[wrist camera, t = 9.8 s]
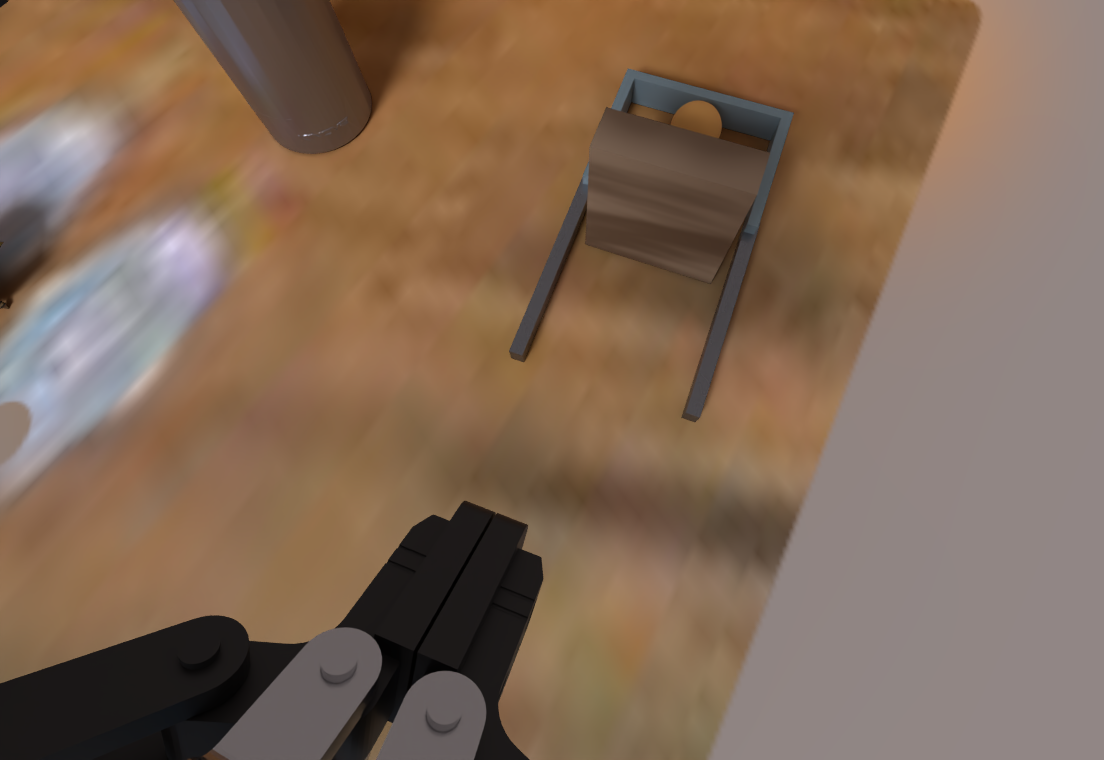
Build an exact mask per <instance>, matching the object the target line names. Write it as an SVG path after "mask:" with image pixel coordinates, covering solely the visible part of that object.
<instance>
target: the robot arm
mask: <svg viewBox="0 0 1104 760" xmlns="http://www.w3.org/2000/svg"><path fill="white" fill-rule="evenodd" d="M174 2H175V3H176V5H177V6H178V7H179V9H180V10H181V11H182V13H183V14H184V16H185V17H186V18H187V20H188V21H189V22H190V24H191V25H192V27H193V28H194V29H195V31H196V32H197V33H198V35H199V36H200V37H201V39H202V40H203V42H204V43H205V44H206V46H207V47H208V48H209V50H210V51H211V53H212V54H213V55H214V57H215V58H216V59H217V61H218V62H219V64H220V65H221V66H222V68H223V69H224V70H225V72H226V73H227V75H228V76H229V77H230V79H231V80H232V81H233V83H234V84H235V86H236V87H237V88H238V90H239V91H240V92H241V94H242V95H243V97H244V98H245V99H246V101H247V102H248V104H249V105H250V106H251V108H252V109H253V110H254V112H255V113H256V115H257V116H258V117H259V119H260V120H261V121H262V123H263V124H264V125H265V127H266V128H267V129H268V131H269V132H270V134H271V135H272V136H273V138H274V139H275V140H276V141H277V142H278V143H279V144H281V145H282V146H283V147H285V148H287V149H289V150H292V151H295V152H299V153H307V154H316V153H324V152H328V151H331V150H334V149H337V148H339V147H341V146H343V145H345V144H347V143H348V142H349V141H351V140H352V139H353V138H355V137H356V136H357V135H358V134H359V133H360V132H361V131H362V129H363V128H364V126H365V125H366V123H367V121H368V119H369V116H370V113H371V107H372V100H371V94H370V92H369V89H368V87H367V85H366V82H365V80H364V78H363V76H362V73H361V71H360V69H359V66H358V64H357V62H356V60H355V57H354V55H353V52H352V50H351V48H350V45H349V43H348V41H347V39H346V36H345V34H344V32H343V30H342V27H341V25H340V23H339V21H338V18H337V16H336V14H335V12H334V9H333V7H332V5H331V3H330V0H174ZM527 529H528V525H527V524H524V523H522V522H519V521H517V520H514V519H511V518H509V517H506V516H504V515H501V514H499V513H497V514H496V513H495V512H493V511H490V510H488V509H485V508H483V507H480V506H478V505H475V504H473V503H470V502H467V501H464V502H463V503H462V504H461V505H460V506H459V508H458V509H457V511H456V512H455V514H454V515H453V517H452V518H451V520H450V521H448V520H446V519H443V518H441V517H438V516H436V515H431V516H430V517H428V518H426V519H425V520H423V521H422V522H420V523H418V524H417V525H415V526H413V527H412V529H411V530H410V531H409V533H408V534H407V535H406V537H405V538H404V539H403V541H402V542H401V543H400V545H399V547H398V549H396V550H395V551H394V553H393V554H392V555H391V557H390V558H389V559H388V562H387V564H386V563H385V565H384V566H383V567H382V569H381V570H380V572H379V573H378V574H377V576H376V577H375V578H374V580H373V581H372V582H371V584H370V585H369V586H368V588H367V589H366V590H365V592H364V593H363V594H362V596H361V597H360V598H359V600H358V601H357V602H356V604H355V605H354V606H353V608H352V609H351V610H350V612H349V613H348V614H347V616H346V617H345V618H344V620H343V621H342V622H341V623H340V624H339V625H338V626H337V627H336V628H335V629H331V630H328V631H326V632H323V633H321V634H319V635H317V636H316V637H315V638H313V639H312V640H310V641H309V642H305V643H298V644H282V643H269V642H256V641H249V638H248V634H247V632H246V630H245V628H244V627H243V626H242V625H241V624H240V623H239V622H238V621H236V620H234V619H232V618H229V617H225V616H204V617H200V618H196V619H192V620H189V621H186V622H183V623H180V624H177V625H174V626H171V627H168V628H165V629H162V630H159V631H156V632H153V633H150V634H147V635H144V636H141V637H138V638H135V639H132V640H129V641H126V642H123V643H120V644H117V645H114V646H111V647H108V648H105V649H102V650H99V651H96V652H93V653H90V654H87V655H84V656H81V657H78V658H75V659H72V660H69V661H66V662H63V663H60V664H57V665H54V666H51V667H48V668H45V669H42V670H39V671H36V672H33V673H30V674H27V675H24V676H21V677H18V678H15V679H12V680H9V681H6V682H3V683H0V760H368V758H369V756H370V752H371V750H372V748H373V746H374V744H375V742H376V741H377V739H378V737H379V735H380V733H381V732H382V730H383V728H384V726H385V724H386V722H387V721H390V722H392V723H393V724H392V726H391V728H390V730H389V733H388V735H387V737H386V739H385V741H384V744H383V746H382V748H381V750H380V752H379V755H378V757H377V759H376V760H529V759H528V758H527V757H526V756H525V755H524V754H523V753H522V752H521V751H520V750H519V749H518V748H517V747H516V746H515V745H514V744H513V743H512V742H511V740H510V739H509V737H508V736H507V734H506V733H505V731H504V729H503V726H502V724H501V720H500V717H499V711H498V702H499V700H500V697H501V695H502V692H503V689H504V687H505V684H506V682H507V679H508V676H509V674H510V671H511V668H512V666H513V663H514V661H515V658H516V655H517V653H518V650H519V647H520V645H521V642H522V640H523V637H524V635H525V632H526V629H527V627H528V624H529V621H530V618H531V615H532V612H533V609H534V606H535V603H536V600H537V597H538V594H539V591H540V588H541V585H542V581H543V571H542V560H541V557H539V556H537V555H534V554H532V553H529V552H527V551H524V550H522V547H523V543H524V540H525V536H526V533H527Z"/></svg>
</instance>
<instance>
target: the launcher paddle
mask: <svg viewBox="0 0 1104 760" xmlns="http://www.w3.org/2000/svg"><path fill="white" fill-rule="evenodd" d="M769 156H770V153H769V152H766V151H762V150H758V149H755V148H751V147H748V146H744V145H740V144H737V143H733V142H730V141H726V140H722V139H719V138H715V137H712V136H708V135H705V134H701V133H697V132H694V131H690V130H687V129H683V128H679V127H676V126H672V125H669V124H665V123H661V122H658V121H654V120H651V119H647V118H644V117H640V116H636V115H633V114H629V113H626V112H622V111H618V110H615V109H611V108H608V107H606V109H605V112H604V114H603V116H602V119H601V121H600V123H599V126H598V128H597V131H596V133H595V135H594V138H593V140H592V142H591V145H590V151H589V174H588V196H587V219H586V242H585V244H586V245H589V246H592V247H595V248H599V249H602V250H605V251H608V252H611V253H615V254H618V255H621V256H624V257H627V258H630V259H634V260H637V261H640V262H643V263H646V264H649V265H653V266H656V267H659V268H662V269H665V270H668V271H672V272H675V273H678V274H681V275H684V276H688V277H691V278H694V279H697V280H700V281H703V282H707V283H710V284H711V282H712V280H713V278H714V276H715V274H716V272H717V270H718V269H719V267H720V265H721V263H722V261H723V259H724V257H725V255H726V253H727V251H728V250H729V248H730V246H731V244H732V242H733V240H734V238H735V236H736V234H737V232H738V230H739V229H740V227H741V225H742V223H743V221H744V219H745V217H746V215H747V213H748V211H749V209H750V208H751V206H752V204H753V202H754V200H755V198H756V196H757V194H758V190H759V187H760V184H761V181H762V178H763V175H764V172H765V168H766V165H767V162H768V159H769Z"/></svg>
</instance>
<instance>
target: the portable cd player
mask: <svg viewBox="0 0 1104 760" xmlns="http://www.w3.org/2000/svg"><path fill="white" fill-rule="evenodd" d="M7 2H8V1H7V0H0V7H1V6H3V5H4V4H5V3H7Z"/></svg>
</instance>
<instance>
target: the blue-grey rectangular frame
mask: <svg viewBox="0 0 1104 760" xmlns="http://www.w3.org/2000/svg"><path fill="white" fill-rule="evenodd" d="M697 100H699V101H705V102H708V103H710V104H711V105H713V106H714V107H715V108H716V109H717V111H718V112H719V114H720V117H721V121H722V127H723V128H726V129H730V130H733V131H737V132H741V133H744V134H748V135H752V136H755V137H759V138H763V139H766V140H770V143H769V146H768V149H767V152H769V153H770V156H769V159H768V162H767V165H766V168H765V172H764V175H763V178H762V181H761V184H760V187H759V190H758V194H757V196H756V198H755V200H754V202H753V204H752V206H751V208H750V209H749V211H748V213H747V215H746V218H745V221H744V224H743V227H742V230H741V233H740V236H739V239H740V237H741V235H742V233H743V232H747V233H750V234H753V235H754V234H755V232H756V230H757V228H758V226H759V223H760V220H761V217H762V213H763V210H764V207H765V204H766V201H767V197H768V194H769V191H770V188H771V185H772V181H773V178H774V175H775V172H776V168H777V165H778V162H779V159H780V156H781V152H782V149H783V146H784V143H785V140H786V136H787V133H788V130H789V127H790V124H791V120H792V117H793V114H794V113H792V112H789V111H785V110H781V109H777V108H774V107H770V106H766V105H762V104H759V103H755V102H751V101H747V100H744V99H740V98H736V97H732V96H729V95H725V94H721V93H717V92H714V91H710V90H706V89H703V88H699V87H695V86H691V85H688V84H684V83H680V82H676V81H673V80H669V79H665V78H661V77H658V76H654V75H650V74H646V73H643V72H639V71H635V70H631V69H628V70H627V72H626V74H625V77H624V79H623V82H622V84H621V86H620V89H619V91H618V93H617V96H616V98H615V100H614V103H613V105H612V108H611V109H615V110H618V111H622V112H626V113H627V111H628V109H629V106H630V104H631V102H632V103H636V104H639V105H643V106H646V107H650V108H654V109H657V110H661V111H665V112H668V113H672V114H675V113H676V112H677V110H678V109H679V108H680V107H682V106H683V105H684V104H686V103H688V102H691V101H697ZM588 174H589V162H588V164H587V167H586V169H585V171H584V174H583V184H586V185H588ZM738 241H739V240H738Z"/></svg>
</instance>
